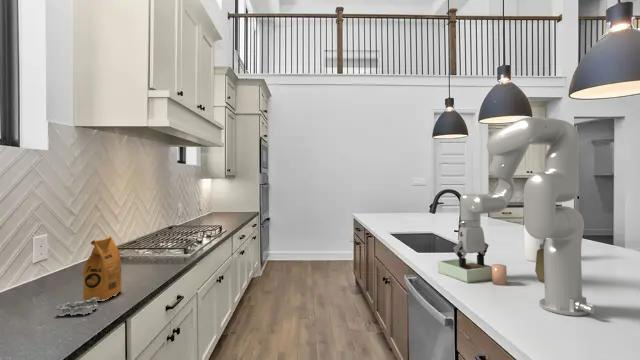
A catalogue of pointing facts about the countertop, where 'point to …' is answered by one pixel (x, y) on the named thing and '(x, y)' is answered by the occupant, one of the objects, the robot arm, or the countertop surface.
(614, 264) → the countertop surface
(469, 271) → the tote
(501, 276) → the terracotta cylinder
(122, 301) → the countertop surface
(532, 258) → the alcohol
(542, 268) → the squeeze bottle
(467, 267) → the walnut cube
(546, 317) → the countertop surface
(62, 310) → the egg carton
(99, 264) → the coffee package
